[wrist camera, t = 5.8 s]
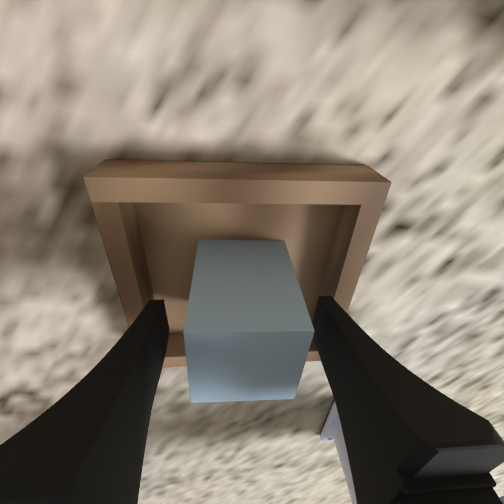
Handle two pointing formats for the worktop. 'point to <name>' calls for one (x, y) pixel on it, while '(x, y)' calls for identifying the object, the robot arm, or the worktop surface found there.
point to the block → (245, 323)
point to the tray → (231, 226)
